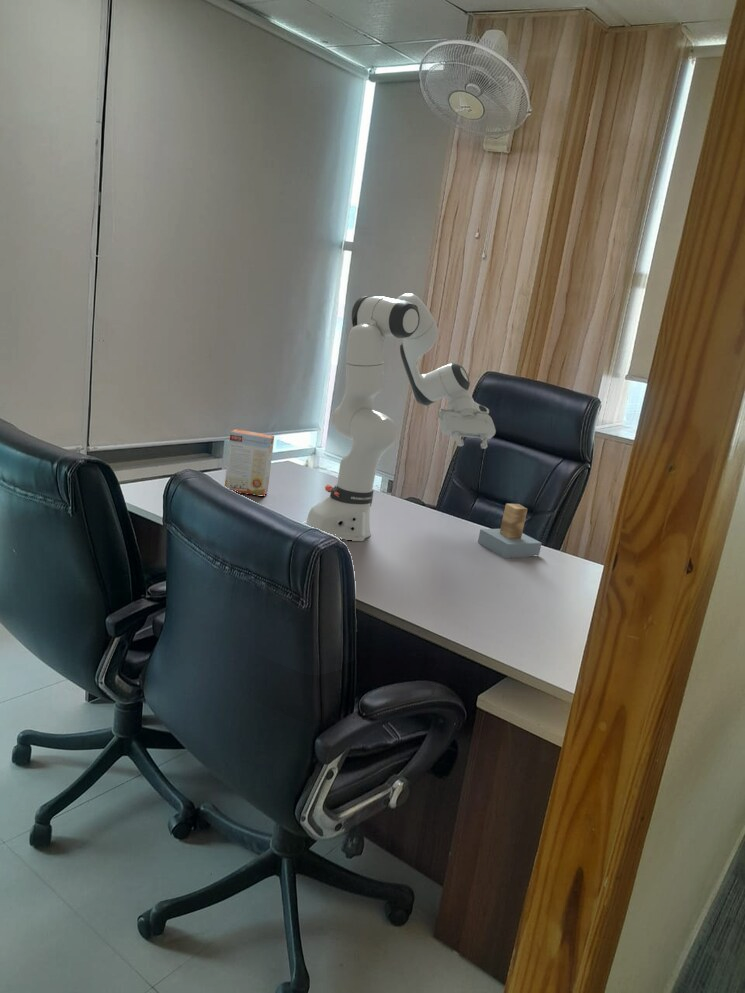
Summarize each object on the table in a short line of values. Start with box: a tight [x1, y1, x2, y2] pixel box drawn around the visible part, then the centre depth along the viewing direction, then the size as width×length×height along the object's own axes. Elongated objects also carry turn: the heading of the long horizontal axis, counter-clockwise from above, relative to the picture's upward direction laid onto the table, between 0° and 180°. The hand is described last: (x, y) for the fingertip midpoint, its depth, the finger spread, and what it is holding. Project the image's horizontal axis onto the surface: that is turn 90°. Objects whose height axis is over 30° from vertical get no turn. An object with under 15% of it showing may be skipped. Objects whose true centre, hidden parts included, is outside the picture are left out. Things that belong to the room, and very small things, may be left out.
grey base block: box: [477, 528, 542, 559], centre depth 253 cm, size 14×14×5 cm
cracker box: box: [224, 428, 275, 496], centre depth 267 cm, size 14×6×21 cm, turn 84°
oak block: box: [499, 503, 529, 539], centre depth 251 cm, size 5×5×10 cm
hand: (473, 446), depth 259 cm, fingers open, 8 cm apart
